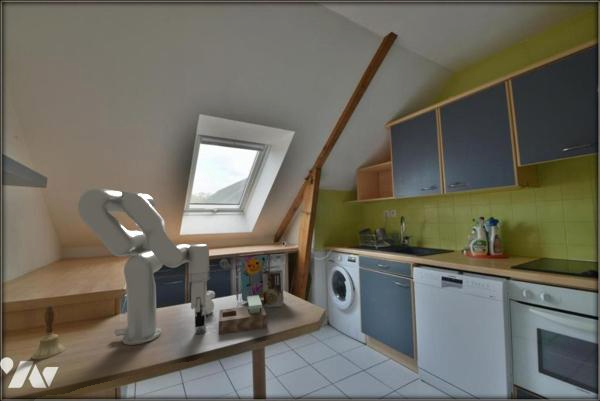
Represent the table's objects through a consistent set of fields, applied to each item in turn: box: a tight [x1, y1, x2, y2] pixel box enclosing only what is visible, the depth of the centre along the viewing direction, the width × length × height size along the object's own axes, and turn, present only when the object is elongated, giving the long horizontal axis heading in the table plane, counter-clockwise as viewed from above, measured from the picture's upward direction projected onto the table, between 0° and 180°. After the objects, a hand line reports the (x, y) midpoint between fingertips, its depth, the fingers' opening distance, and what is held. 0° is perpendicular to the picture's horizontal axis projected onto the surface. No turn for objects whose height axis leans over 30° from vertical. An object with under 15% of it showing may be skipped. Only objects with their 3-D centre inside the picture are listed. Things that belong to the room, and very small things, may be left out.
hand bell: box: [31, 305, 66, 361], centre depth 91 cm, size 8×8×16 cm
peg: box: [194, 305, 207, 335], centre depth 103 cm, size 4×4×10 cm
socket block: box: [218, 304, 267, 335], centre depth 108 cm, size 18×12×5 cm, turn 105°
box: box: [219, 251, 272, 305], centre depth 133 cm, size 25×6×24 cm, turn 115°
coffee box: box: [262, 269, 285, 308], centre depth 130 cm, size 9×6×16 cm
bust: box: [205, 290, 216, 316], centre depth 121 cm, size 12×8×11 cm
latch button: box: [246, 295, 263, 314], centre depth 109 cm, size 5×12×6 cm, turn 15°
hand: (200, 323), depth 103 cm, fingers closed on peg, 4 cm apart
